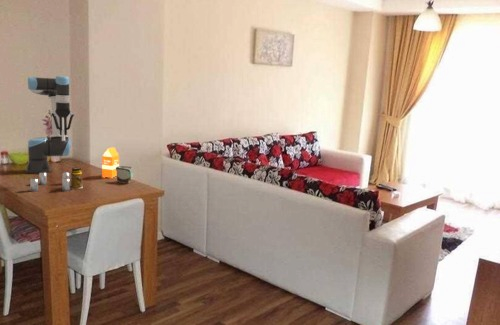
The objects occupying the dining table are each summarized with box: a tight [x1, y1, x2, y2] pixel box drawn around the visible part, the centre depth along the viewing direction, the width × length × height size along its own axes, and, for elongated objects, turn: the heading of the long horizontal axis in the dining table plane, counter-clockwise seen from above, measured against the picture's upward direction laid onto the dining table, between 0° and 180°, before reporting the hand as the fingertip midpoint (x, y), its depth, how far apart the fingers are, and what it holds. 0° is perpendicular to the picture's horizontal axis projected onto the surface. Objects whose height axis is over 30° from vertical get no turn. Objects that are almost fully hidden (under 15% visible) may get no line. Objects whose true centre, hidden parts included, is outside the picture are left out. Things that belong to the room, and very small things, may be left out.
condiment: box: [70, 166, 84, 190], centre depth 258 cm, size 7×8×12 cm
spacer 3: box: [61, 171, 70, 180], centre depth 265 cm, size 4×4×7 cm
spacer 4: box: [61, 177, 71, 192], centre depth 250 cm, size 4×4×7 cm
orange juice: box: [101, 146, 120, 179], centre depth 290 cm, size 8×9×20 cm
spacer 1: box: [29, 177, 39, 193], centre depth 246 cm, size 4×4×7 cm
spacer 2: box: [38, 172, 48, 186], centre depth 261 cm, size 4×4×7 cm
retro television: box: [115, 165, 133, 185], centre depth 279 cm, size 12×6×10 cm, turn 65°
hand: (63, 140), depth 262 cm, fingers closed
